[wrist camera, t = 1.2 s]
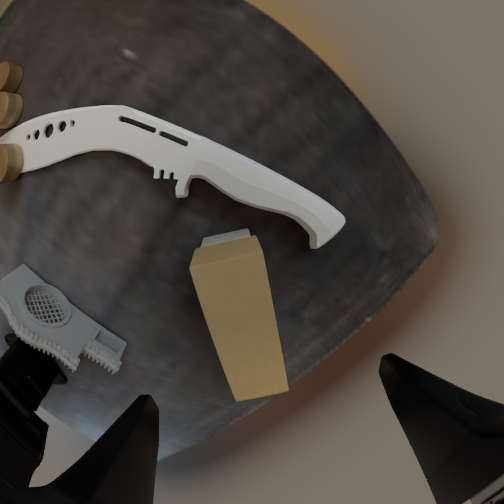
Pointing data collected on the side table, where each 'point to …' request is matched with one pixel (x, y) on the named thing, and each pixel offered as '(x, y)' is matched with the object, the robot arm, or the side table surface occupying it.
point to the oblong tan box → (240, 313)
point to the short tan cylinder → (10, 109)
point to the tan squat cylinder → (10, 162)
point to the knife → (174, 161)
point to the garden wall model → (55, 334)
